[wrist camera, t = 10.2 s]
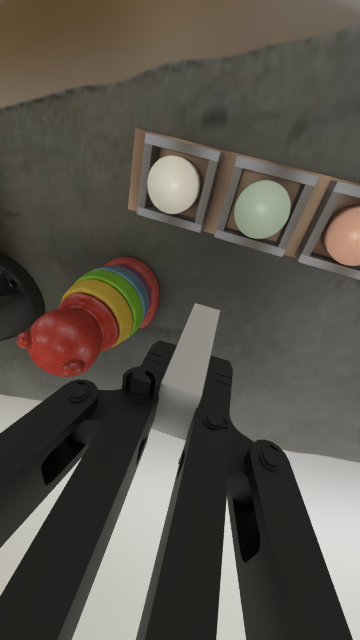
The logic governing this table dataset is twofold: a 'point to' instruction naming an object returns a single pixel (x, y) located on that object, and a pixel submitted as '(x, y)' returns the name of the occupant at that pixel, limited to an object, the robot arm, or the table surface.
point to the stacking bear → (93, 317)
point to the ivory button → (174, 184)
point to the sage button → (262, 209)
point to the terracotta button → (343, 235)
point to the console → (226, 186)
